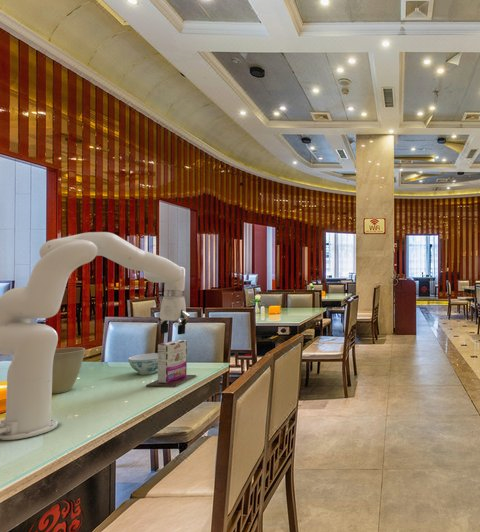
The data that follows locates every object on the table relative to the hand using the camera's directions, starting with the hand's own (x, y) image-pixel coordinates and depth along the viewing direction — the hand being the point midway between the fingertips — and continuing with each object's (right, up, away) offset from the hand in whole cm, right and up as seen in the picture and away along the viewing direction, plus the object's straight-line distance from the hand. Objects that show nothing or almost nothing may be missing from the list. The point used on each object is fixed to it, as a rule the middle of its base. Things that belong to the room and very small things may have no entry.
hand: (172, 333), depth 162 cm
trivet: (0, -21, 0) cm, 21 cm away
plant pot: (-36, -20, -15) cm, 44 cm away
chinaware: (-20, -21, +14) cm, 32 cm away
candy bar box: (0, -20, 0) cm, 20 cm away
